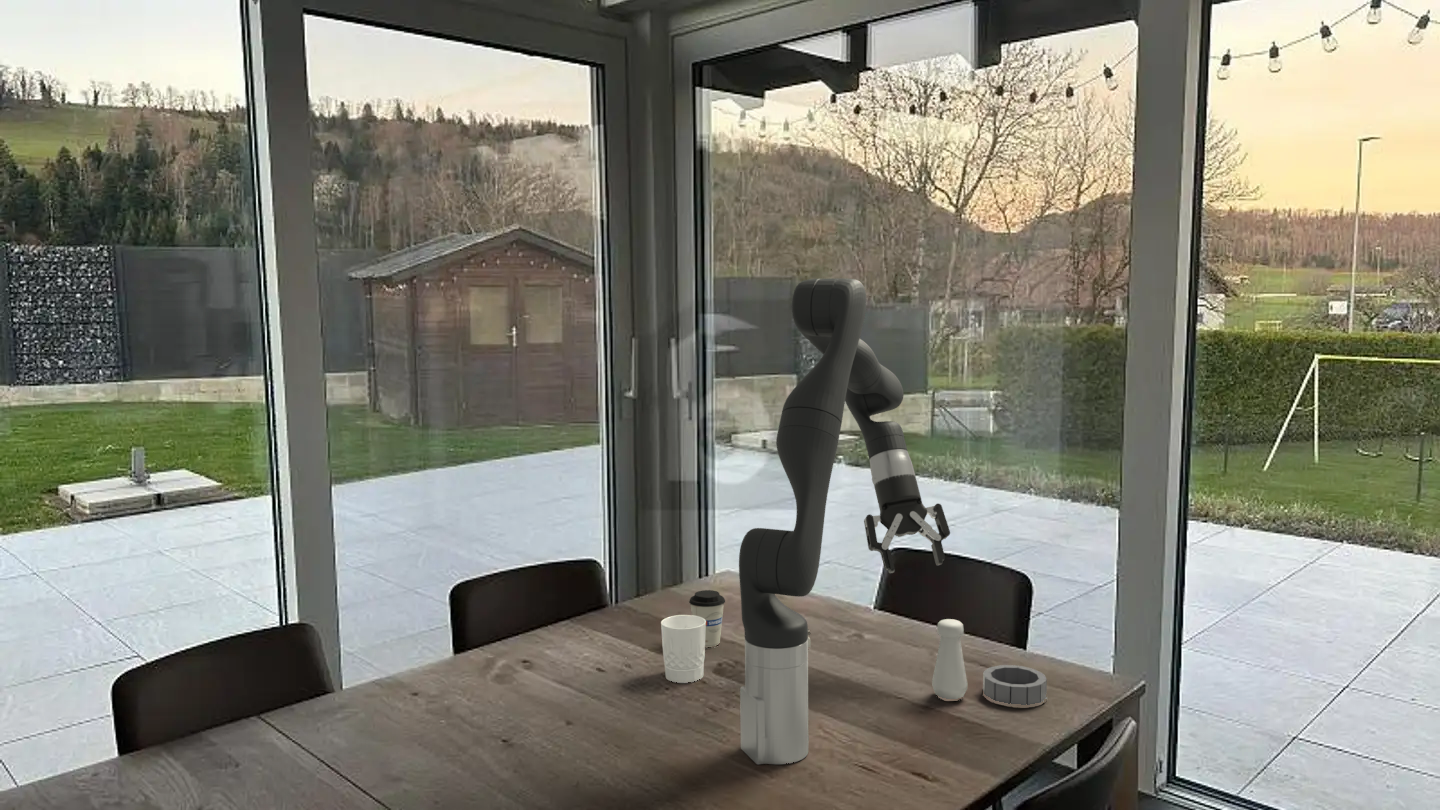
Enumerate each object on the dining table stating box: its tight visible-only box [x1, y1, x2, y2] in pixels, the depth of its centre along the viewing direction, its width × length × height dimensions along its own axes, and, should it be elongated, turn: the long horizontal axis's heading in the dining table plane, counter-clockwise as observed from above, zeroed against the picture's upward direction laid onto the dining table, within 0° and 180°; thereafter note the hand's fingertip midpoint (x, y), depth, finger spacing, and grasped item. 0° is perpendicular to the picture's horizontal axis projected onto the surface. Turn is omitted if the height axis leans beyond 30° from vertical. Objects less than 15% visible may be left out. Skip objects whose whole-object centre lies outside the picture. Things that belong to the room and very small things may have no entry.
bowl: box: [982, 664, 1048, 705], centre depth 173 cm, size 10×10×4 cm
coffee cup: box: [688, 589, 726, 647], centre depth 201 cm, size 7×7×10 cm
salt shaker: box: [931, 618, 969, 699], centre depth 173 cm, size 6×6×13 cm
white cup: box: [660, 614, 706, 684], centre depth 184 cm, size 8×8×10 cm
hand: (916, 568), depth 181 cm, fingers open, 8 cm apart
